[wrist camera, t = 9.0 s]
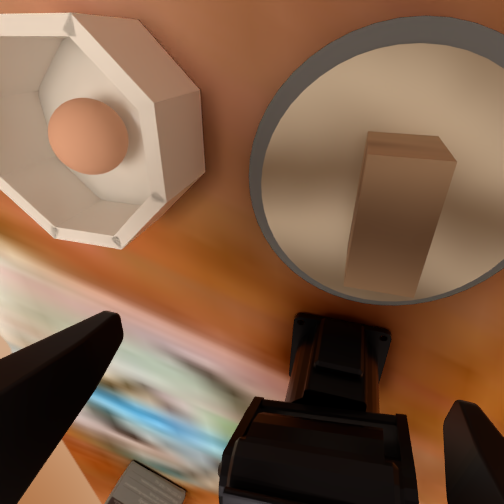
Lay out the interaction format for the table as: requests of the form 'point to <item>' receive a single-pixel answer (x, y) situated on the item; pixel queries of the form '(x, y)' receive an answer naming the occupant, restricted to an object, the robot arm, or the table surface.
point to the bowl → (112, 94)
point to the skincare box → (144, 488)
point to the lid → (392, 173)
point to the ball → (88, 136)
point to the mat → (352, 44)
